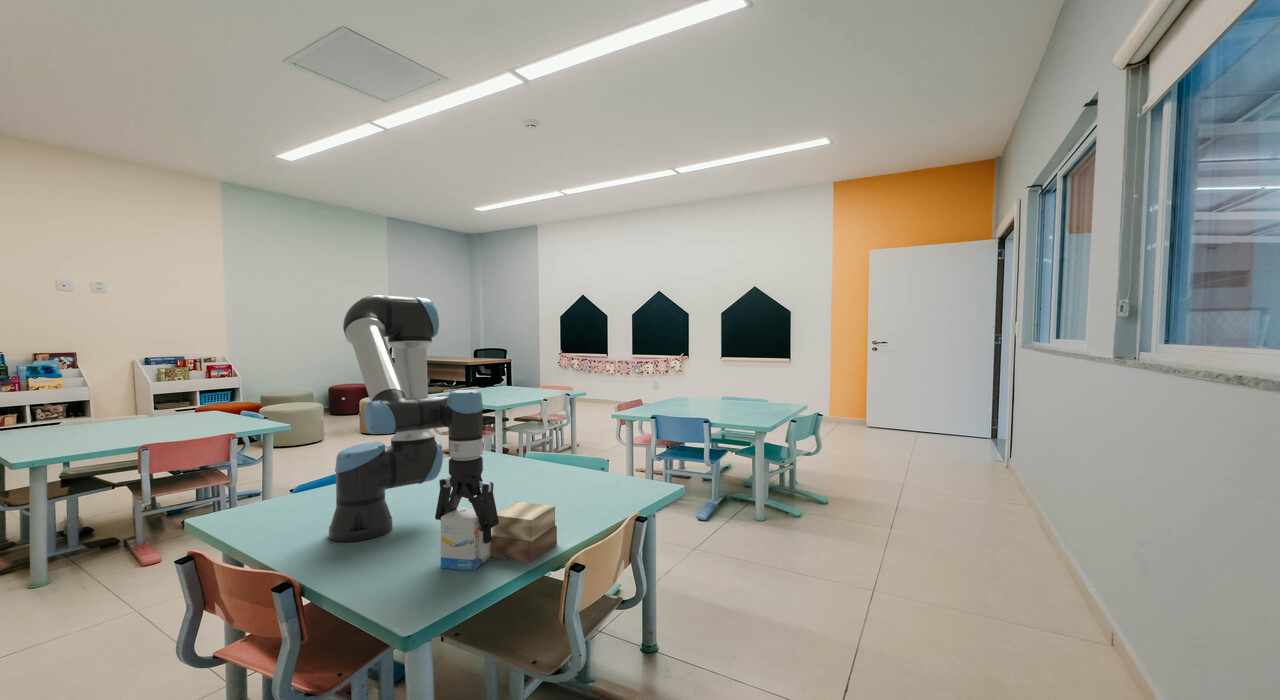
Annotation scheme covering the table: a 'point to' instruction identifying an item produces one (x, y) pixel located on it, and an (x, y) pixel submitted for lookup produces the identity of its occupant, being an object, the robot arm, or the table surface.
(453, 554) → the ink box
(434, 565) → the table surface
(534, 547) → the tower base
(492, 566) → the table surface
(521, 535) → the tower top
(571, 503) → the table surface
